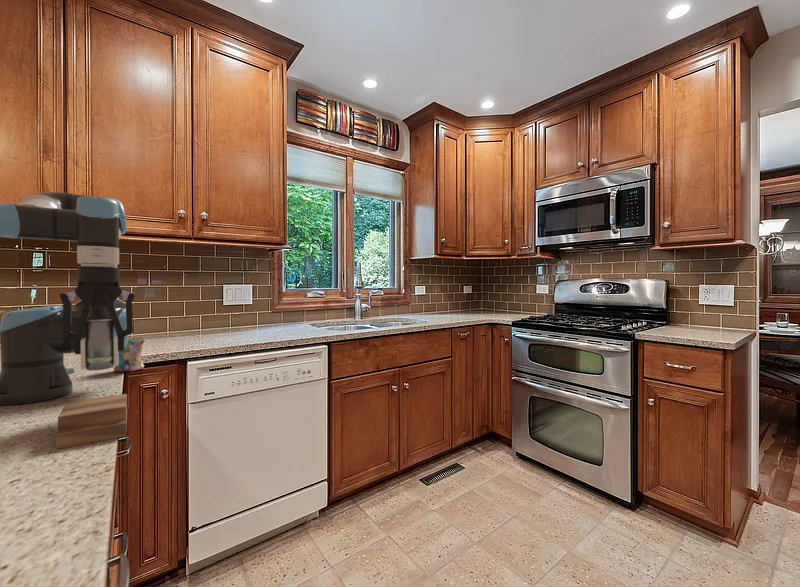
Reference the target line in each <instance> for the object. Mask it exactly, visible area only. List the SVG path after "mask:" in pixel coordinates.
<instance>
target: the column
mask: <svg viewBox="0 0 800 587" xmlns="http://www.w3.org/2000/svg"><path fill="white" fill-rule="evenodd" d="M114 367H115V366H114V333H113V322H112V319H99V320H87V321H86V369H85V370H87V371H102V370H108V369H111V368H114Z"/></svg>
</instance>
